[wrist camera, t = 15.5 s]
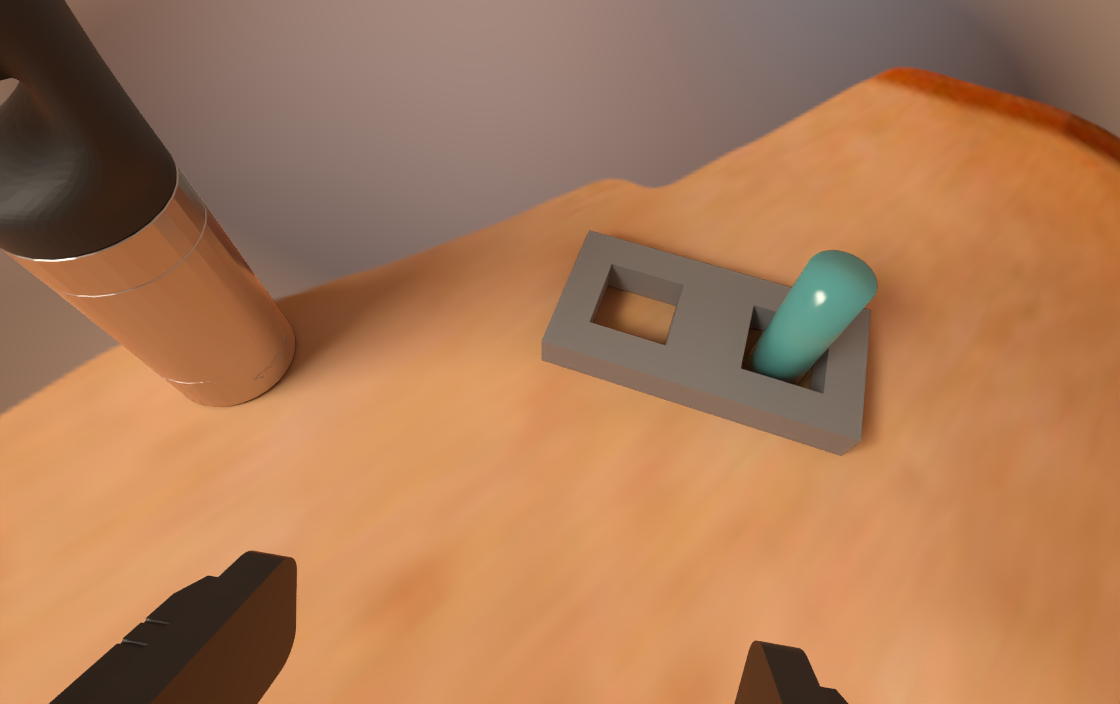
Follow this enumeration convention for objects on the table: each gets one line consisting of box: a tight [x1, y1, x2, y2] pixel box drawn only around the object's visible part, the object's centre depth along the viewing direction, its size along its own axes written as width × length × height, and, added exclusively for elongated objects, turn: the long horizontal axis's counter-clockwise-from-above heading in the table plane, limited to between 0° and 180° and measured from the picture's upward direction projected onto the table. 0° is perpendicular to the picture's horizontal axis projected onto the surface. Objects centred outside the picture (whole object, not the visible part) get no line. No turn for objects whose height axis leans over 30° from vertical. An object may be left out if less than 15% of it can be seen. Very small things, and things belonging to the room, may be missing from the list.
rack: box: [542, 230, 871, 456], centre depth 45 cm, size 24×12×3 cm, turn 71°
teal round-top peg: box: [746, 250, 877, 385], centre depth 41 cm, size 4×4×12 cm
